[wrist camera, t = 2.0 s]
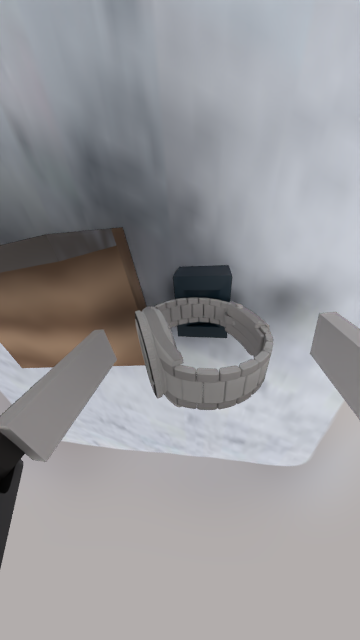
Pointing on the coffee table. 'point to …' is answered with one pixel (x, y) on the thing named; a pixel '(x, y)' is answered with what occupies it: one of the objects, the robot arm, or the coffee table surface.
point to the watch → (202, 321)
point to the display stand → (69, 296)
